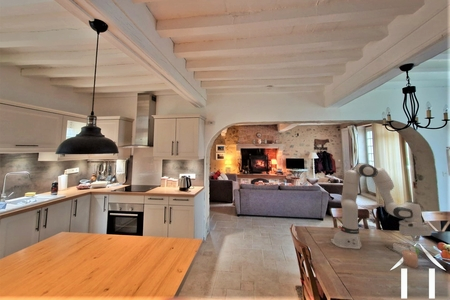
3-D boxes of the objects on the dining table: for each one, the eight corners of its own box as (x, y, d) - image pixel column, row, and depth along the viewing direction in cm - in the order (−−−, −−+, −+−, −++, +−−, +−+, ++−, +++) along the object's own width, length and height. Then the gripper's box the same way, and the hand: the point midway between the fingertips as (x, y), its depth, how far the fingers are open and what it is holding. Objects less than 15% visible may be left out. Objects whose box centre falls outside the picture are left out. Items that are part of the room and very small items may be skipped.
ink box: (419, 247, 132) (403, 248, 132) (419, 254, 131) (403, 255, 132) (407, 242, 140) (392, 242, 140) (407, 248, 140) (393, 249, 140)
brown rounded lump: (410, 267, 117) (409, 255, 118) (400, 261, 124) (399, 250, 125) (421, 267, 117) (420, 255, 117) (410, 261, 124) (409, 250, 124)
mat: (405, 257, 128) (405, 257, 128) (386, 247, 144) (386, 246, 144) (424, 258, 127) (424, 257, 127) (403, 247, 143) (403, 246, 143)
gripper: (424, 221, 139) (425, 239, 138) (396, 221, 140) (398, 239, 139) (432, 224, 133) (434, 242, 132) (404, 224, 134) (406, 243, 133)
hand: (416, 241), depth 136 cm, fingers closed
